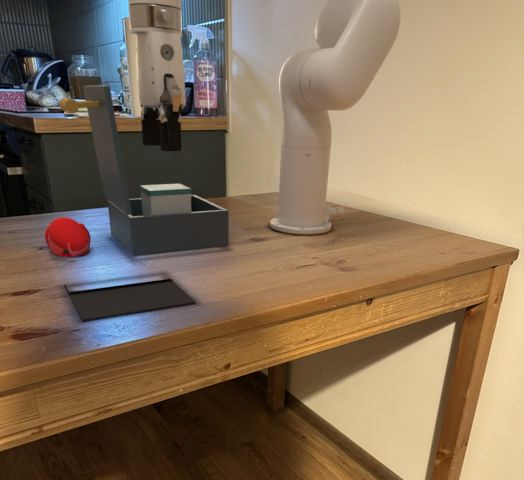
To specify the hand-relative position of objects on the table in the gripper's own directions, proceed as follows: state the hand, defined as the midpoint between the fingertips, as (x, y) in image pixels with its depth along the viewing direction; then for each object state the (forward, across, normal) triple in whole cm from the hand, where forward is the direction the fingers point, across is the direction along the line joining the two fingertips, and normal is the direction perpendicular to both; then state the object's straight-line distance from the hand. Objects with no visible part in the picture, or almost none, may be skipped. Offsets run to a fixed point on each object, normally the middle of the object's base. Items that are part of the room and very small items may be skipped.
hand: (161, 147), depth 81 cm
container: (+15, 0, 0) cm, 15 cm away
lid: (0, 0, +8) cm, 8 cm away
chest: (+16, 0, 0) cm, 16 cm away
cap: (+16, -1, +16) cm, 23 cm away
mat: (+16, -22, +12) cm, 30 cm away
